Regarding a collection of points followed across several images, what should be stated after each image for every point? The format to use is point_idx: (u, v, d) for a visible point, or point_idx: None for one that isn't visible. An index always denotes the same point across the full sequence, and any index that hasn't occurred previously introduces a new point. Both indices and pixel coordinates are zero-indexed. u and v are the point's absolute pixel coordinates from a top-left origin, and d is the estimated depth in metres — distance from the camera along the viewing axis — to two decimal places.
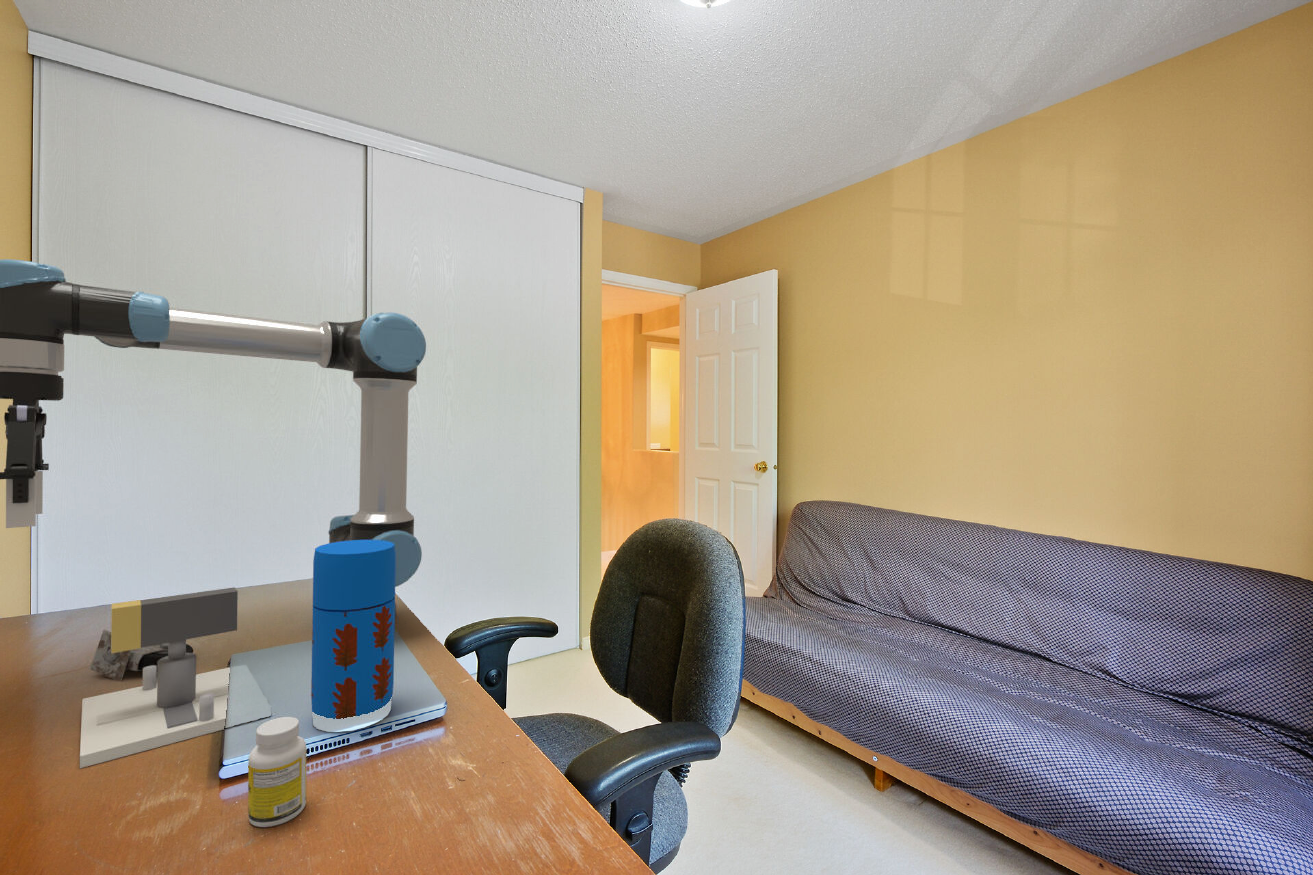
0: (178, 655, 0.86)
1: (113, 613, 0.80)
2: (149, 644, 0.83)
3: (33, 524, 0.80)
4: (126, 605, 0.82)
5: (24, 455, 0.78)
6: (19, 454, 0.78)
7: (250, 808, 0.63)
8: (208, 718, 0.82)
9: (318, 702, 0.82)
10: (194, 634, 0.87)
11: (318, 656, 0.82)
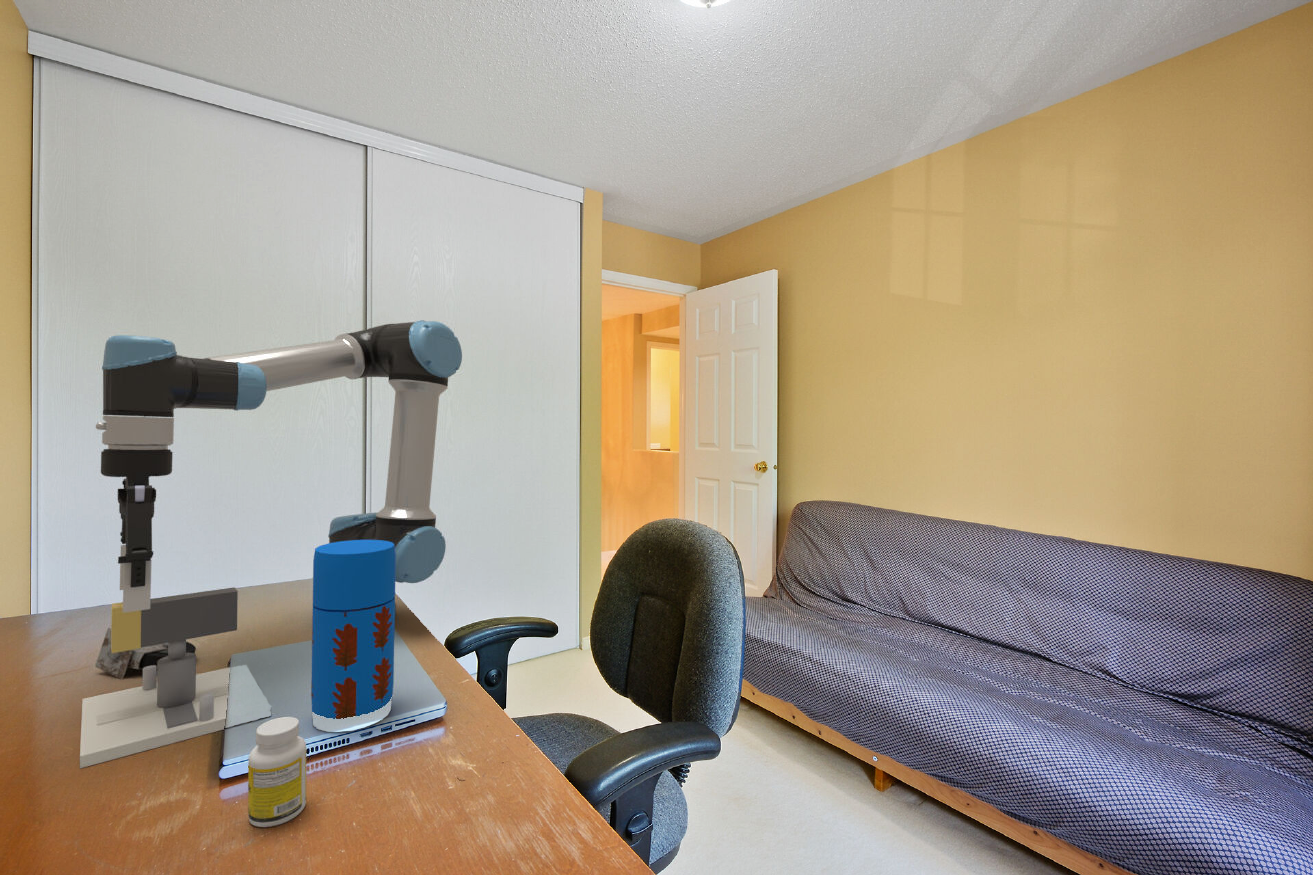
0: (178, 655, 0.86)
1: (113, 613, 0.80)
2: (149, 644, 0.83)
3: (148, 607, 0.78)
4: None
5: (143, 538, 0.76)
6: (139, 537, 0.76)
7: (250, 808, 0.63)
8: (208, 718, 0.82)
9: (318, 702, 0.82)
10: (194, 634, 0.87)
11: (318, 656, 0.82)
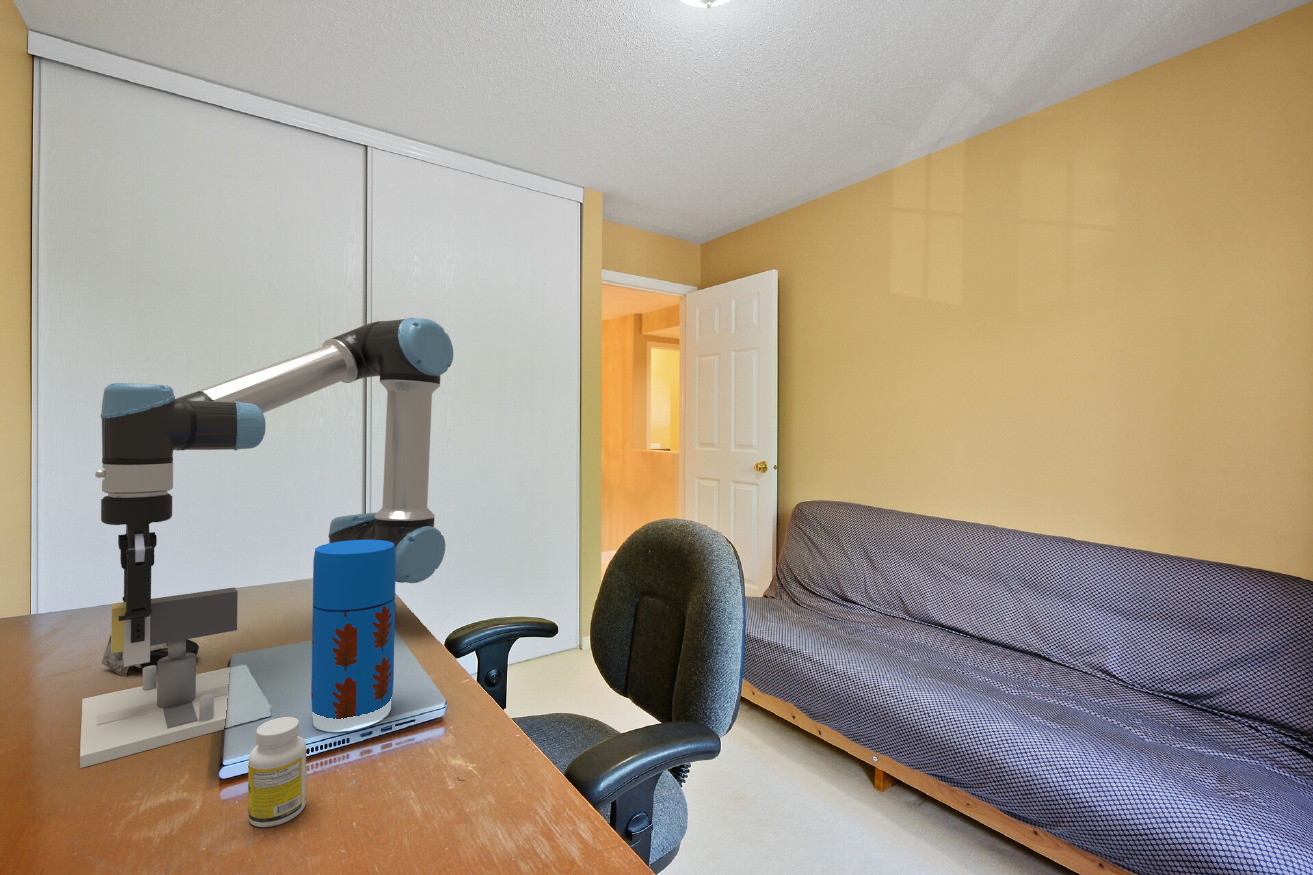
0: (178, 655, 0.86)
1: (113, 613, 0.80)
2: None
3: (148, 660, 0.82)
4: None
5: (143, 599, 0.80)
6: (138, 599, 0.79)
7: (250, 808, 0.63)
8: (208, 718, 0.82)
9: (318, 702, 0.82)
10: (194, 634, 0.87)
11: (318, 656, 0.82)
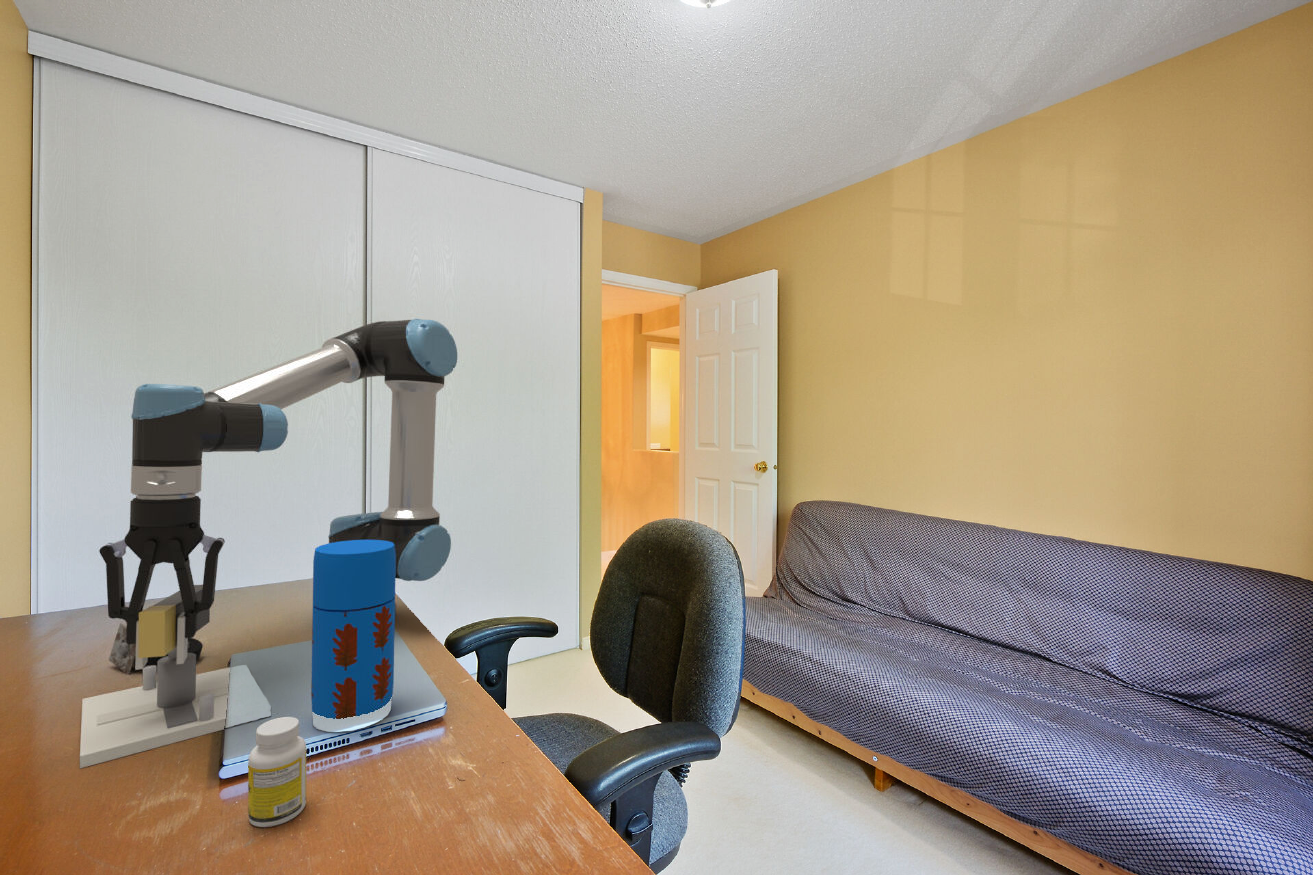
0: None
1: (165, 615, 0.80)
2: None
3: (186, 655, 0.85)
4: (162, 608, 0.81)
5: (214, 589, 0.85)
6: (213, 588, 0.85)
7: (250, 808, 0.63)
8: (208, 718, 0.82)
9: (318, 702, 0.82)
10: None
11: (318, 656, 0.82)
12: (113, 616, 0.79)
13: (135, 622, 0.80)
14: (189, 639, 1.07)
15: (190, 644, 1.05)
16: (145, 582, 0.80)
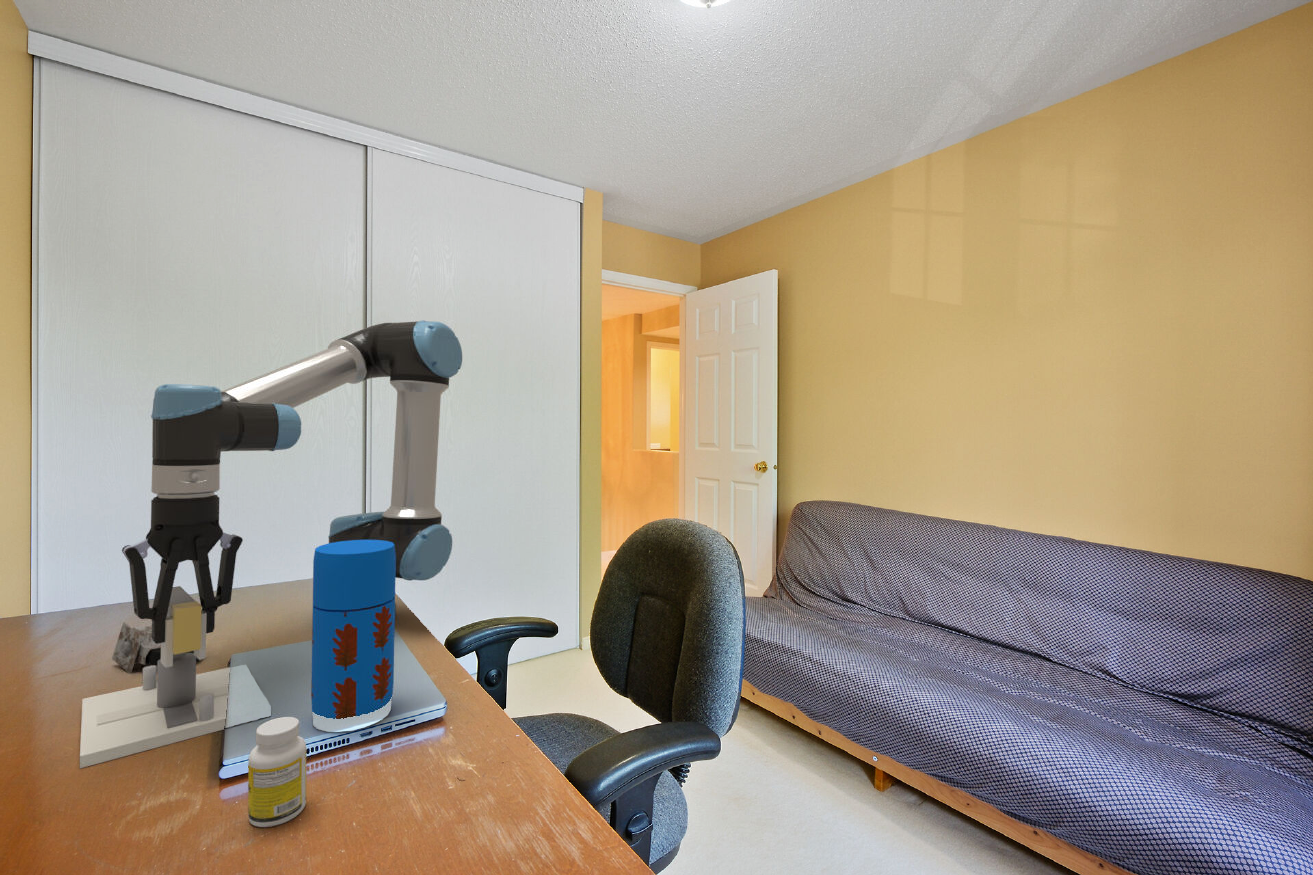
0: None
1: None
2: None
3: None
4: (191, 604, 0.83)
5: None
6: None
7: (250, 808, 0.63)
8: (208, 718, 0.82)
9: (318, 702, 0.82)
10: None
11: (318, 656, 0.82)
12: (143, 616, 0.79)
13: (163, 621, 0.81)
14: None
15: None
16: (172, 580, 0.81)
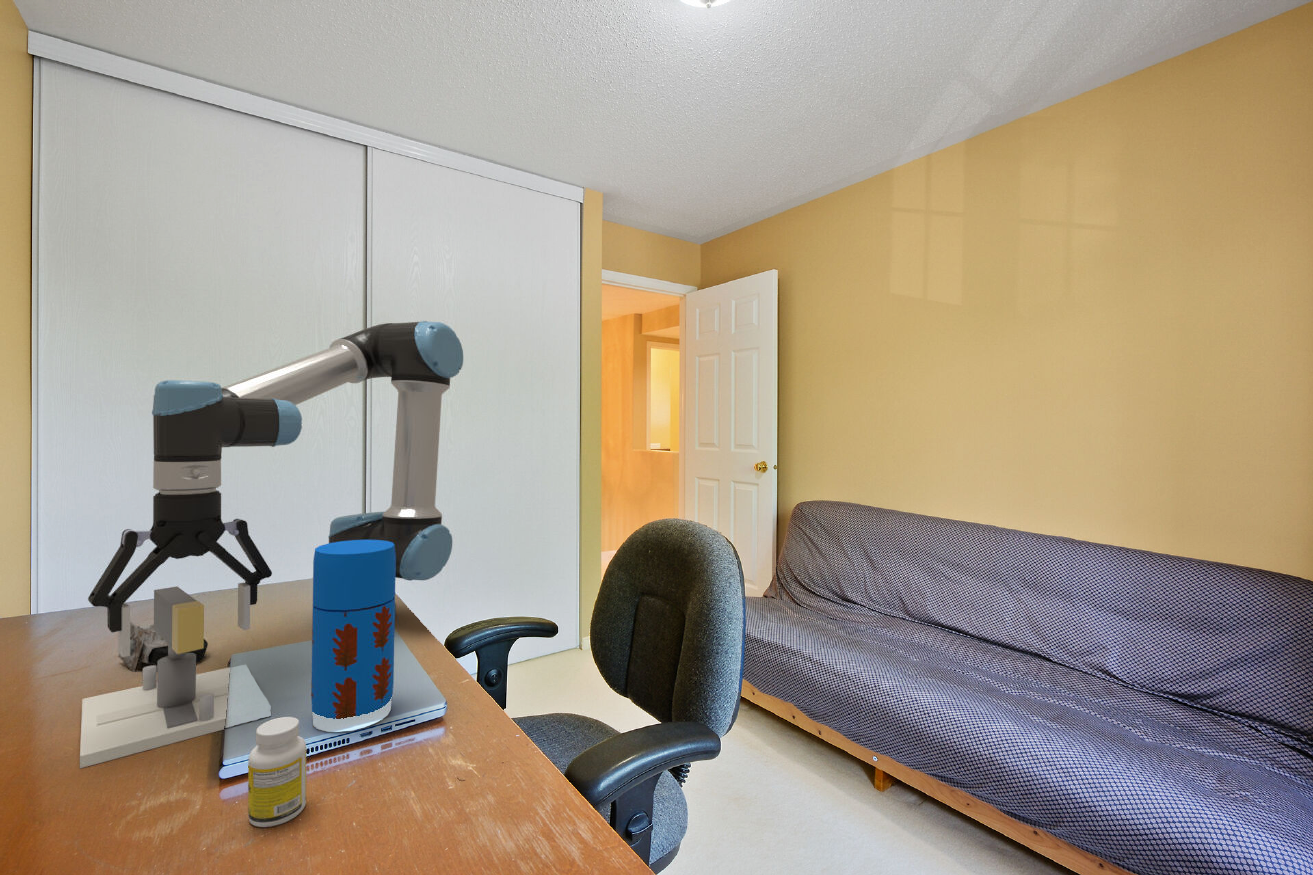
0: None
1: (203, 609, 0.83)
2: None
3: None
4: (193, 604, 0.83)
5: None
6: None
7: (250, 808, 0.63)
8: (208, 718, 0.82)
9: (318, 702, 0.82)
10: None
11: (318, 656, 0.82)
12: (96, 604, 0.75)
13: (119, 609, 0.77)
14: None
15: None
16: (150, 573, 0.79)
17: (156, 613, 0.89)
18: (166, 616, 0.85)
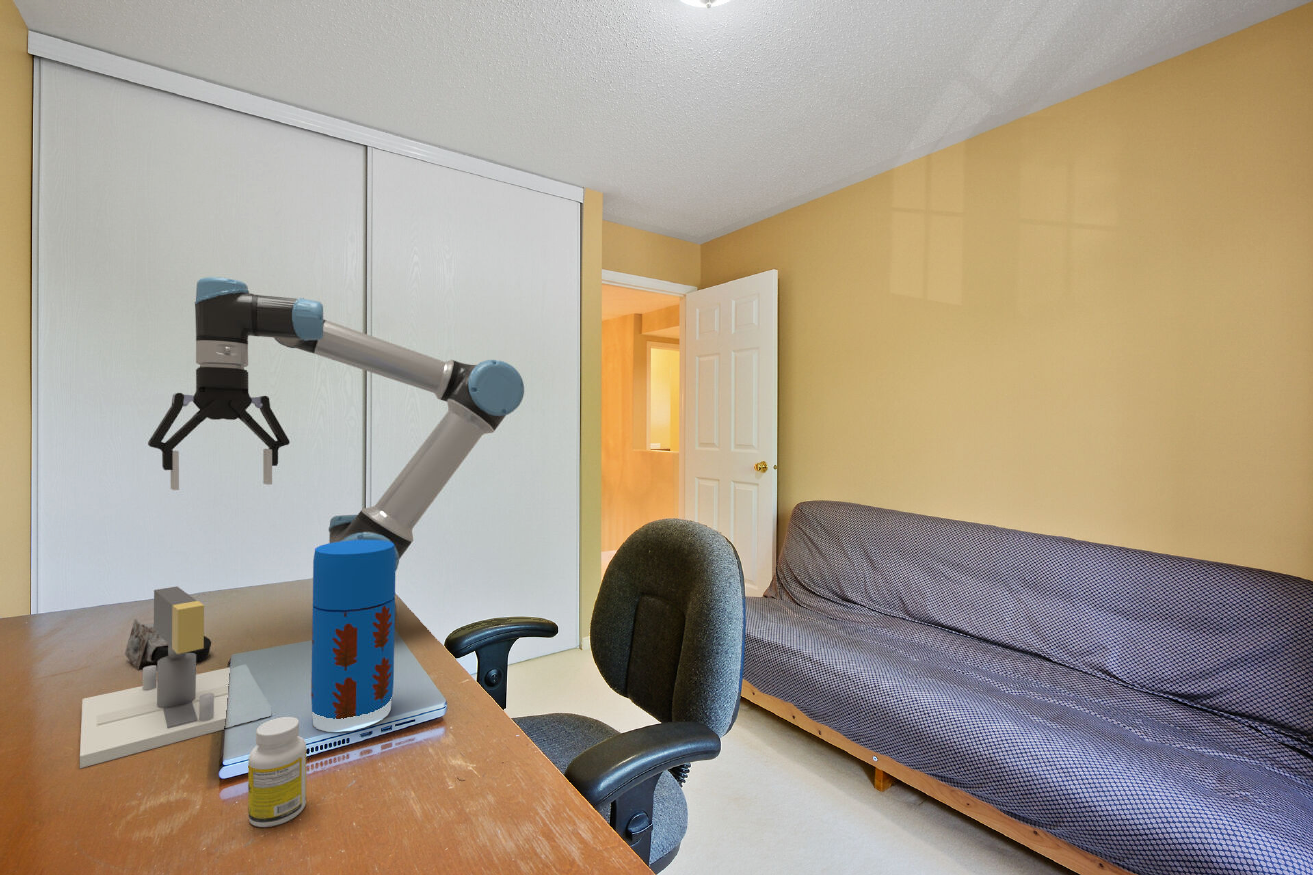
0: None
1: (203, 609, 0.83)
2: None
3: None
4: (193, 604, 0.83)
5: None
6: None
7: (250, 808, 0.63)
8: (208, 718, 0.82)
9: (318, 702, 0.82)
10: None
11: (318, 656, 0.82)
12: (153, 445, 0.97)
13: (170, 452, 0.99)
14: None
15: None
16: (194, 427, 1.01)
17: (156, 613, 0.89)
18: (166, 616, 0.85)
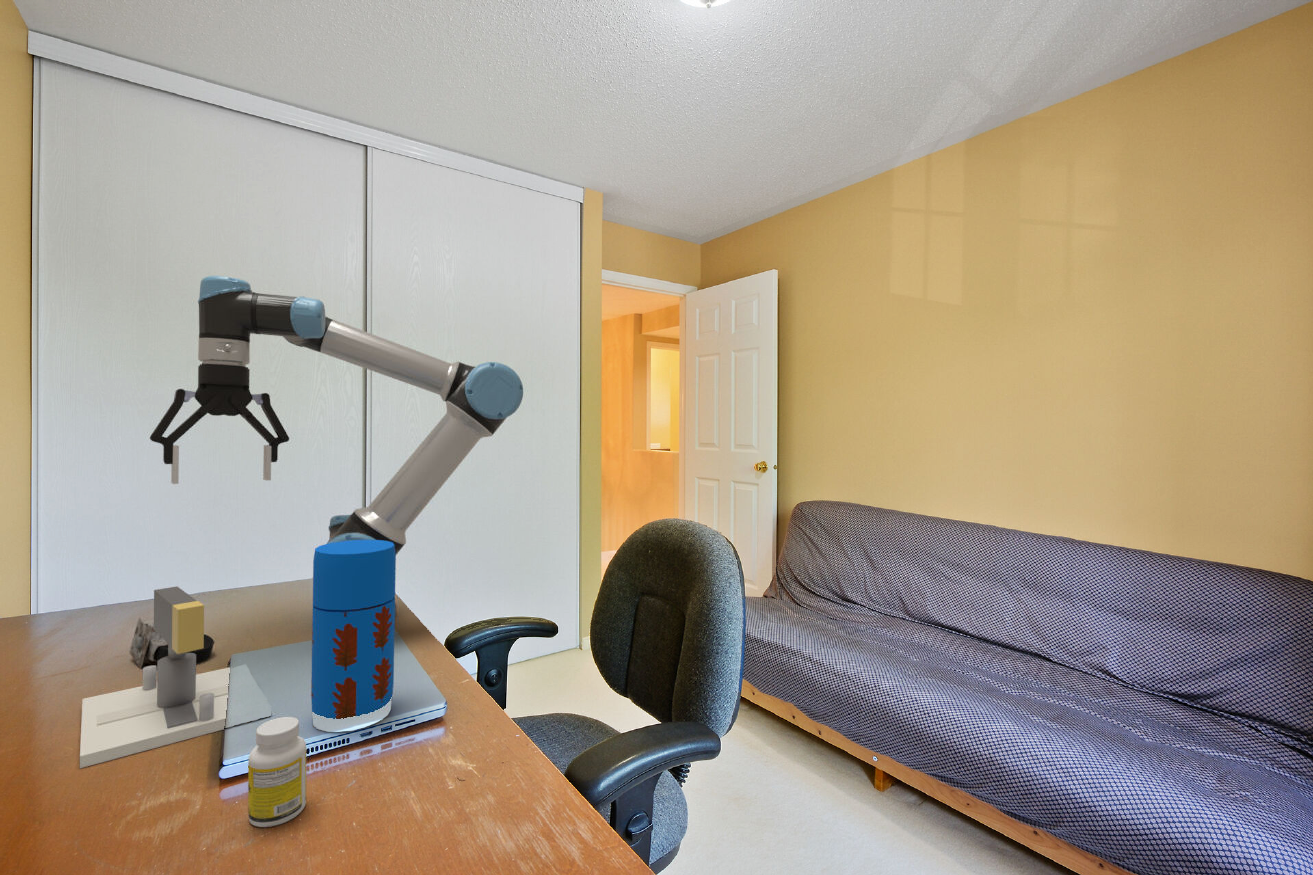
0: None
1: (203, 609, 0.83)
2: None
3: None
4: (193, 604, 0.83)
5: None
6: None
7: (250, 808, 0.63)
8: (208, 718, 0.82)
9: (318, 702, 0.82)
10: None
11: (318, 656, 0.82)
12: (154, 439, 1.00)
13: (171, 447, 1.02)
14: None
15: None
16: (194, 423, 1.03)
17: (156, 613, 0.89)
18: (166, 616, 0.85)
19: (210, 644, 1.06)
